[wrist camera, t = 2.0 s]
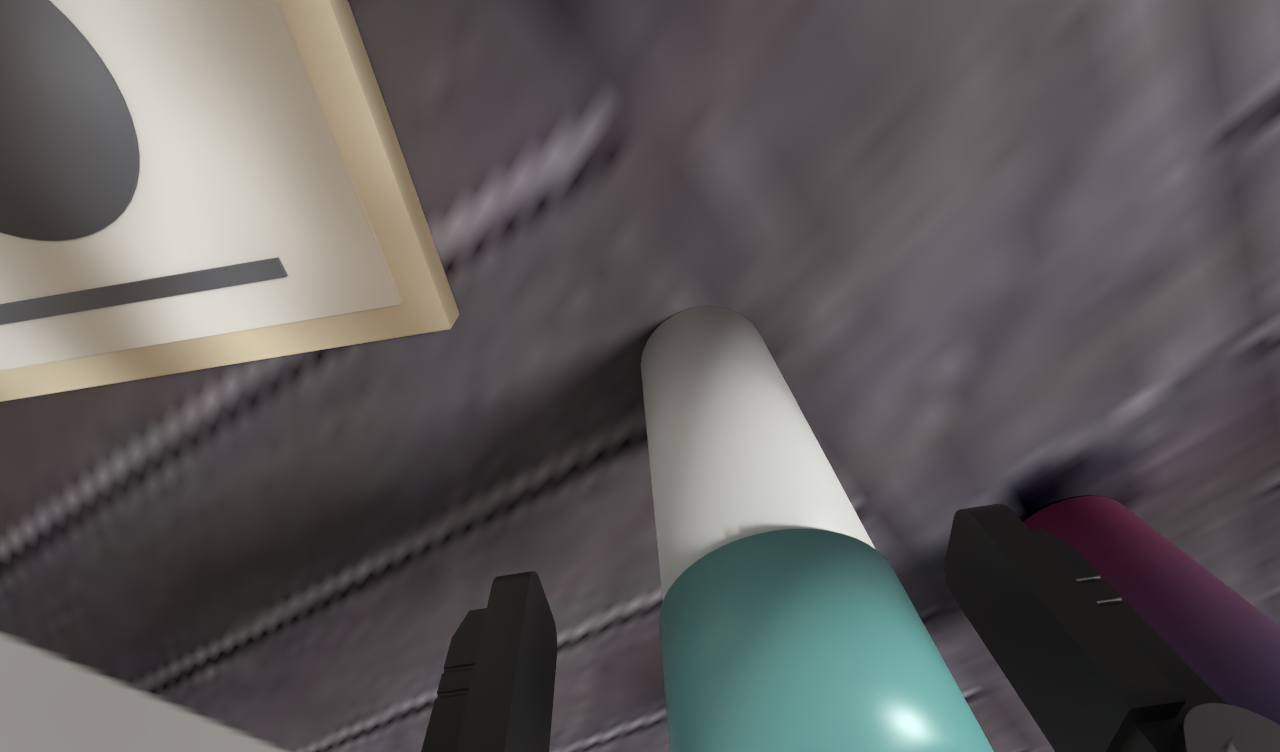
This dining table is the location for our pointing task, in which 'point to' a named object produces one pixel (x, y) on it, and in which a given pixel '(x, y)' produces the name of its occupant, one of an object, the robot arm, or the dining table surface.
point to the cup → (1176, 599)
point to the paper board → (198, 192)
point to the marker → (774, 570)
